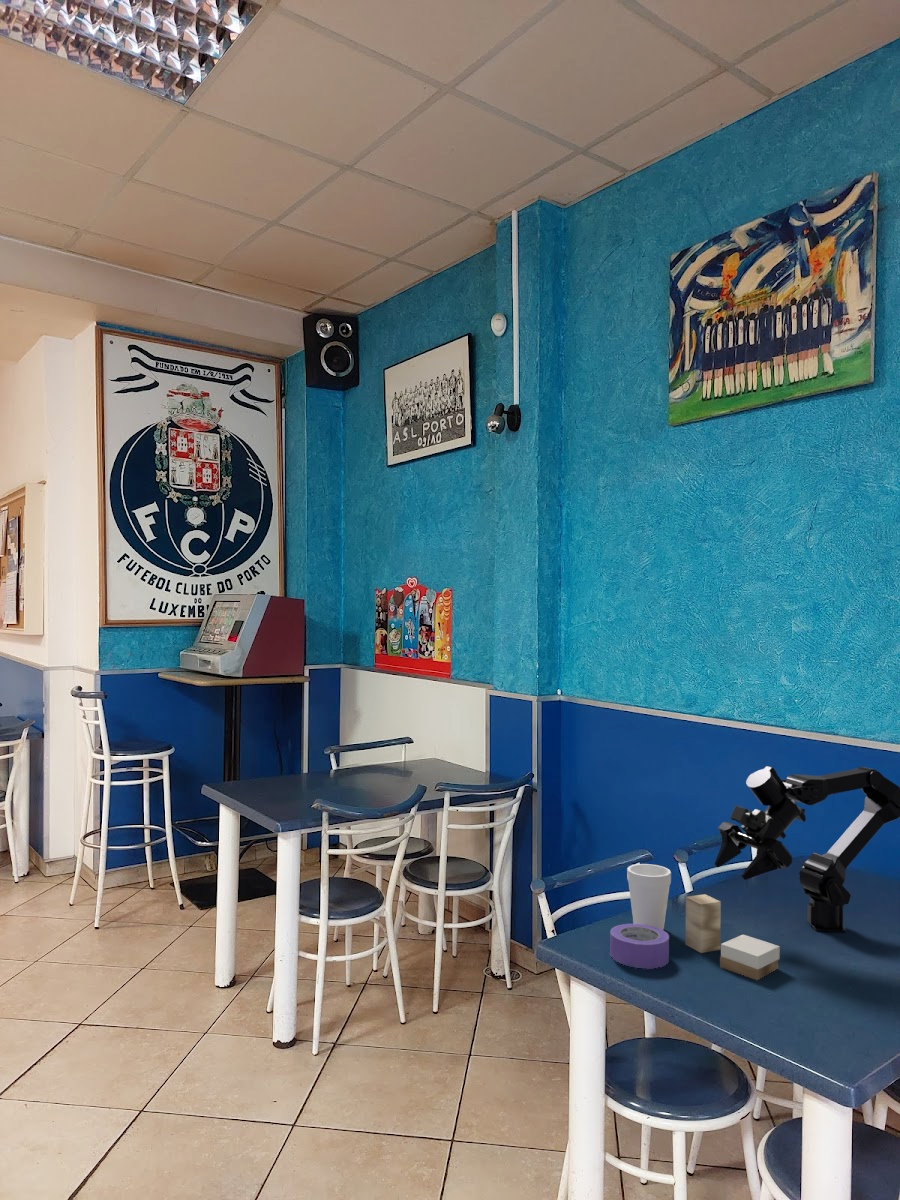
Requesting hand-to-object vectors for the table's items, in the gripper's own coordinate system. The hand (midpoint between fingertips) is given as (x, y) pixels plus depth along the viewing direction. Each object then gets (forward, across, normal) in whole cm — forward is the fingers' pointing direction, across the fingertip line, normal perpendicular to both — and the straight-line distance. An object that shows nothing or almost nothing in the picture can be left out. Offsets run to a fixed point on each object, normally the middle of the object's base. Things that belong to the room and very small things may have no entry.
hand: (729, 871), depth 185 cm
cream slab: (+12, +13, +6) cm, 19 cm away
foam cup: (+20, -11, +3) cm, 23 cm away
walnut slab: (+14, +13, +8) cm, 21 cm away
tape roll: (+27, +2, -4) cm, 28 cm away
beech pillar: (+15, +1, +6) cm, 17 cm away
